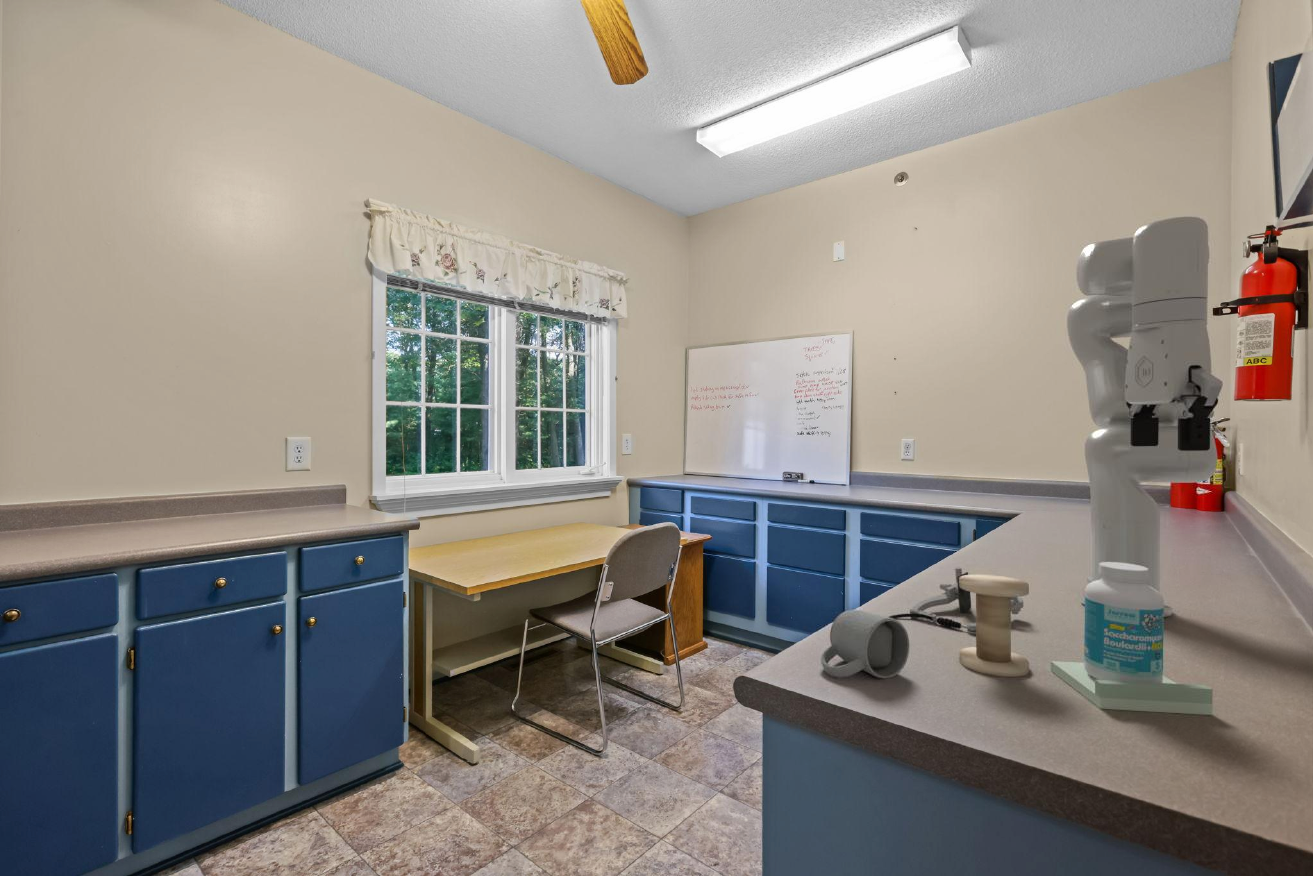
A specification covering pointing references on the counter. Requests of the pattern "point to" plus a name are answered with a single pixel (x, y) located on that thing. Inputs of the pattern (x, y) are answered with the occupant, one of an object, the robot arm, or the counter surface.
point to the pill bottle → (1123, 625)
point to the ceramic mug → (867, 645)
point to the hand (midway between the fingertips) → (1167, 448)
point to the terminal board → (1136, 692)
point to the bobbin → (993, 626)
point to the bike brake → (948, 597)
